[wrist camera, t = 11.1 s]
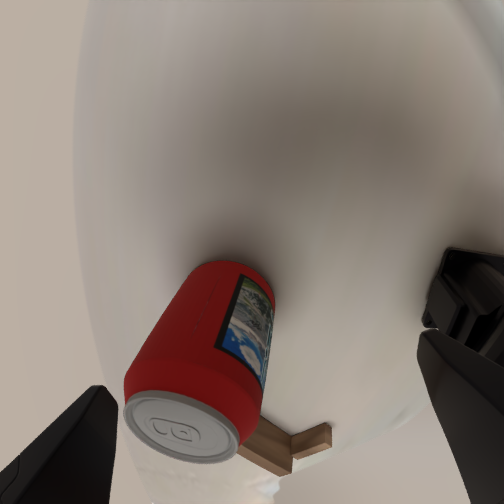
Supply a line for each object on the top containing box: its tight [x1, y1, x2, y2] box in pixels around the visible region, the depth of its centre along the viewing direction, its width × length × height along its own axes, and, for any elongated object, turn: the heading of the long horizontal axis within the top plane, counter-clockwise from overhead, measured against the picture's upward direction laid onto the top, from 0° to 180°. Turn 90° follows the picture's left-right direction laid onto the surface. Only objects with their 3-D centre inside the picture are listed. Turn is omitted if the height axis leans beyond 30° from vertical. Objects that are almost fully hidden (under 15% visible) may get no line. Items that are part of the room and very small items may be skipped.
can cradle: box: [236, 416, 332, 477], centre depth 25 cm, size 6×12×4 cm, turn 44°
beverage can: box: [123, 261, 275, 464], centre depth 17 cm, size 7×7×12 cm
